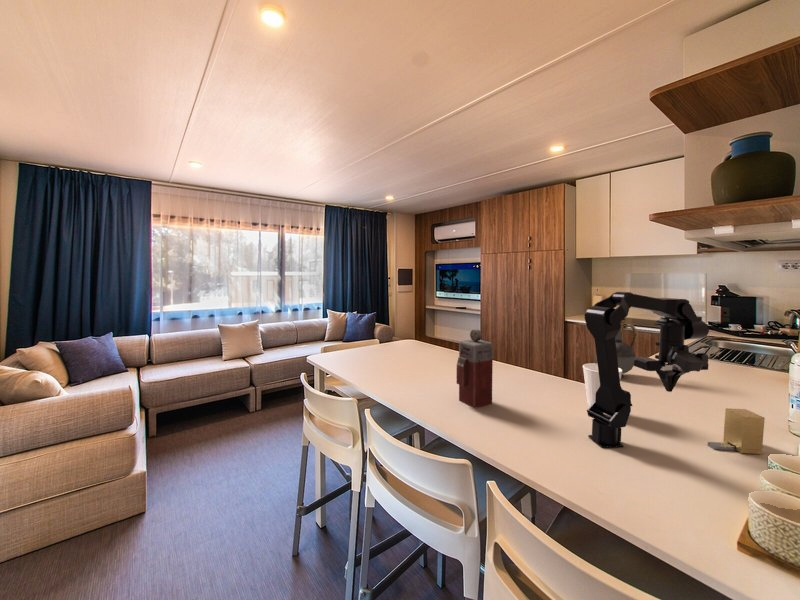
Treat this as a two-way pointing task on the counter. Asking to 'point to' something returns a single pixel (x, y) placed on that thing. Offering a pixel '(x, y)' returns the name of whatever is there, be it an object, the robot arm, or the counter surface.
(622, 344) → the pitcher
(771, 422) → the counter surface
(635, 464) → the counter surface
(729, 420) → the tan rectangular block
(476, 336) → the dark red tall piece
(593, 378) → the cup
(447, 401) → the counter surface
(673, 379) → the robot arm
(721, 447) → the rig
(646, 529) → the counter surface
